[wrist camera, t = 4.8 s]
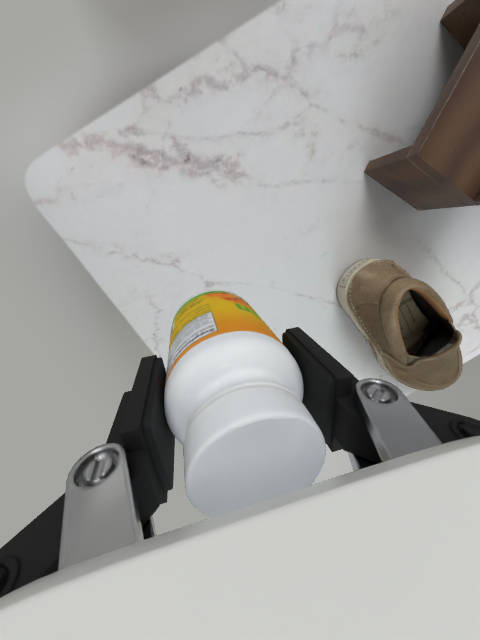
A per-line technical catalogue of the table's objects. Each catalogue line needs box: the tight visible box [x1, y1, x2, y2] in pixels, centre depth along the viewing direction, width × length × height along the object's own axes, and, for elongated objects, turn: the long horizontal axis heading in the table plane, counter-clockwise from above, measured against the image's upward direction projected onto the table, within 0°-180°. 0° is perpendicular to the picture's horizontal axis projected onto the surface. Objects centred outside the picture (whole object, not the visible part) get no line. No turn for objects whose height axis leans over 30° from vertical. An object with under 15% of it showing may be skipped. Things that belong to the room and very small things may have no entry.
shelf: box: [364, 0, 480, 210], centre depth 23 cm, size 10×16×9 cm, turn 156°
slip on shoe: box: [337, 258, 462, 391], centre depth 33 cm, size 30×11×9 cm, turn 44°
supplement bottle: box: [164, 290, 326, 517], centre depth 11 cm, size 5×5×10 cm
